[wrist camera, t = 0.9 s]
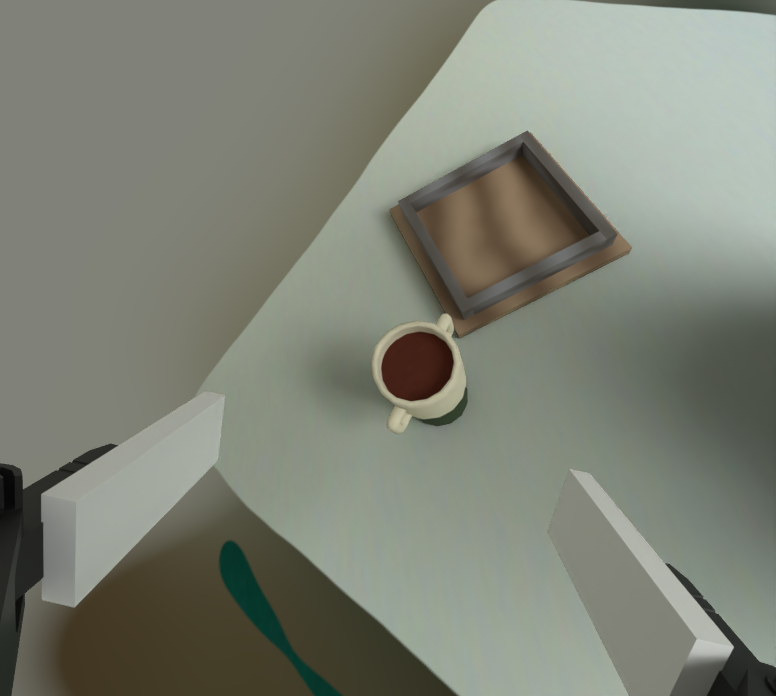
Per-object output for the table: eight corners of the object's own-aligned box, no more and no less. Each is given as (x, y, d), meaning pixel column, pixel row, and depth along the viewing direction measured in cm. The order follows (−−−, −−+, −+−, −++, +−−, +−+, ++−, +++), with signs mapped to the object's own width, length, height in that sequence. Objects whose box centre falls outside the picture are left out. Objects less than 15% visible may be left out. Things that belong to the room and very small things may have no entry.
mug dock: (530, 138, 50) (531, 118, 47) (629, 253, 41) (638, 236, 39) (391, 214, 51) (384, 199, 49) (459, 338, 43) (456, 328, 41)
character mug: (431, 341, 44) (405, 288, 32) (490, 365, 41) (486, 317, 30) (387, 428, 42) (342, 405, 30) (446, 460, 39) (423, 448, 28)
